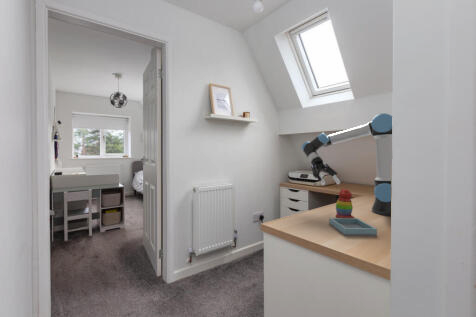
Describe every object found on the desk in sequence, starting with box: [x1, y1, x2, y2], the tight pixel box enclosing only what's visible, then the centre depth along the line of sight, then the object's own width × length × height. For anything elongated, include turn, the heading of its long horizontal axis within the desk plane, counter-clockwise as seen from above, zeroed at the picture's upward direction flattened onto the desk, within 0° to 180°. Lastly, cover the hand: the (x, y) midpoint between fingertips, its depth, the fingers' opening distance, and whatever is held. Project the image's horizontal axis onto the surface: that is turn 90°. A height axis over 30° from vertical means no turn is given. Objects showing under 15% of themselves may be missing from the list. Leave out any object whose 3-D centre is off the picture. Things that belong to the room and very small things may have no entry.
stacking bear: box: [335, 188, 356, 218], centre depth 141 cm, size 11×10×18 cm
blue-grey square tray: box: [328, 217, 378, 237], centre depth 121 cm, size 16×17×4 cm
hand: (331, 184), depth 150 cm, fingers open, 13 cm apart
